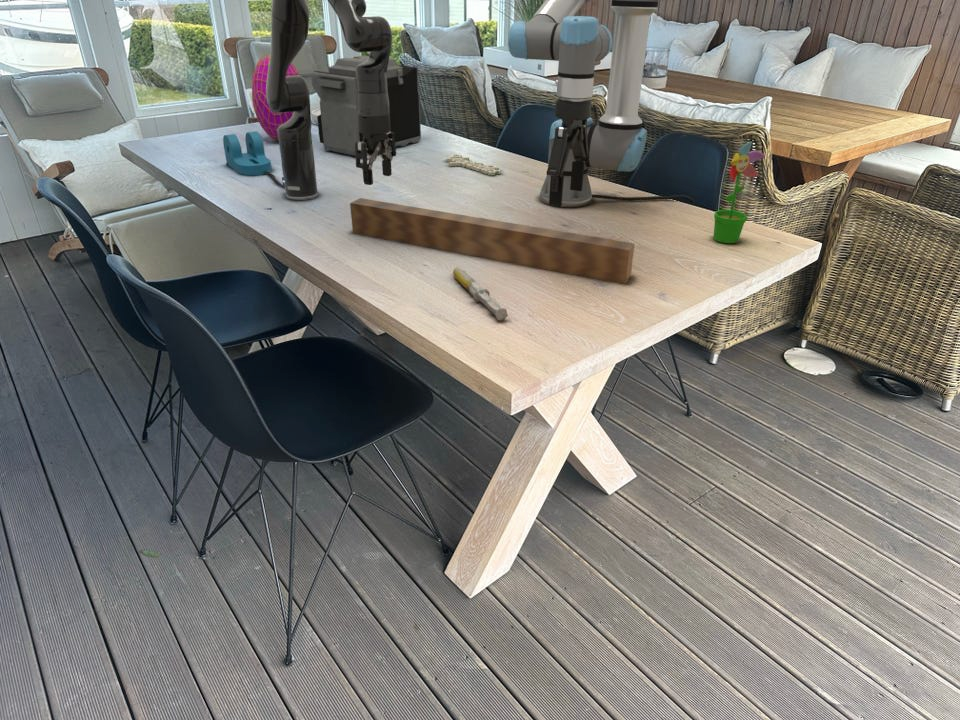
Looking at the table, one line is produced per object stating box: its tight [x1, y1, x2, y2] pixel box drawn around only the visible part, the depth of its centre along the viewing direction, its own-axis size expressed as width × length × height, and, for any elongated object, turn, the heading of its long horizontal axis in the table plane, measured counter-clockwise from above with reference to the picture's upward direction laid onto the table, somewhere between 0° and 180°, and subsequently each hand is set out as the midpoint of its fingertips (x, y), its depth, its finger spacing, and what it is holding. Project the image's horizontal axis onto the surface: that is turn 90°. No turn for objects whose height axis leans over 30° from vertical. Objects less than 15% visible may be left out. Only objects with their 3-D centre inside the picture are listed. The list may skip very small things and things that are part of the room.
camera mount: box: [222, 131, 272, 176], centre depth 226 cm, size 18×10×10 cm, turn 35°
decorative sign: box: [445, 154, 501, 176], centre depth 234 cm, size 26×1×10 cm
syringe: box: [452, 266, 509, 321], centre depth 145 cm, size 25×4×3 cm, turn 21°
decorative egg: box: [251, 54, 301, 141], centre depth 257 cm, size 19×19×30 cm
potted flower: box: [713, 141, 766, 244], centre depth 170 cm, size 9×8×25 cm
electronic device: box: [310, 55, 422, 157], centre depth 250 cm, size 37×22×30 cm, turn 144°
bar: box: [349, 197, 636, 285], centre depth 164 cm, size 72×5×8 cm, turn 65°
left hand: (378, 179), depth 169 cm, fingers open, 8 cm apart
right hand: (566, 197), depth 155 cm, fingers open, 13 cm apart
